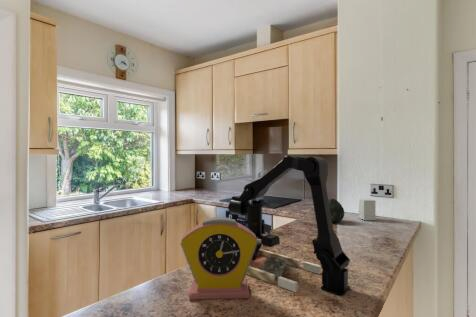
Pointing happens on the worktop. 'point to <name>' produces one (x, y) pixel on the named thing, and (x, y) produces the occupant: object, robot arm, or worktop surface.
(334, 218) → the squash
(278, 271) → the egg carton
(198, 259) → the retro mantel clock
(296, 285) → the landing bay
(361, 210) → the supplement box
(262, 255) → the channel
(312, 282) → the worktop surface
